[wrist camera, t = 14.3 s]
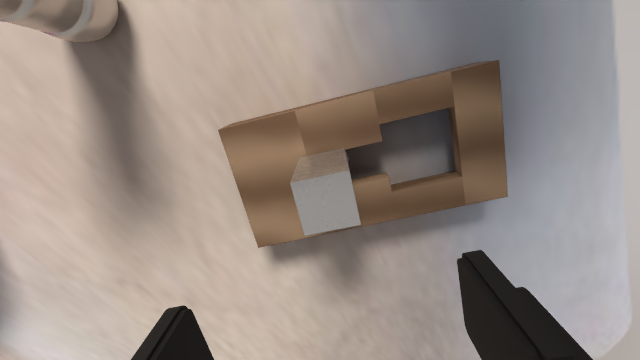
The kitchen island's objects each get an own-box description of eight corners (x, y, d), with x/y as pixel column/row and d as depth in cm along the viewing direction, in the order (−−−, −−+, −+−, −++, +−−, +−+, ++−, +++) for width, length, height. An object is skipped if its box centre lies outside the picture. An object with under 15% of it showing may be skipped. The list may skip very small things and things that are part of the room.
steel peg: (301, 145, 31) (286, 180, 20) (343, 135, 31) (351, 166, 20) (311, 185, 33) (302, 238, 22) (352, 176, 32) (364, 226, 21)
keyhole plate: (231, 123, 31) (218, 129, 27) (476, 62, 29) (498, 60, 25) (266, 229, 34) (258, 247, 31) (486, 182, 32) (507, 196, 28)
